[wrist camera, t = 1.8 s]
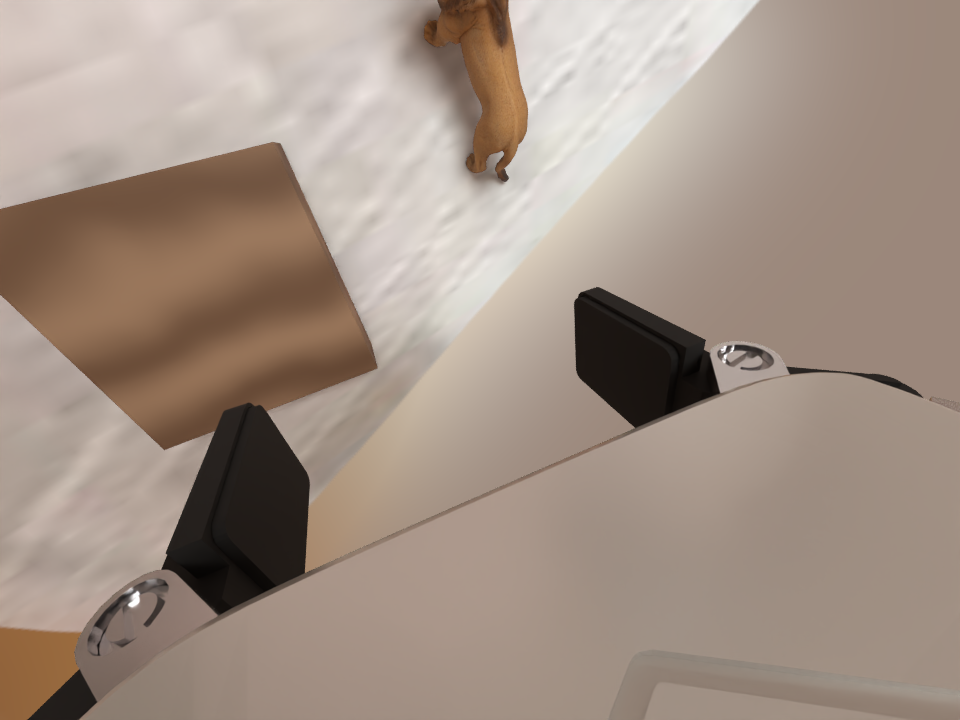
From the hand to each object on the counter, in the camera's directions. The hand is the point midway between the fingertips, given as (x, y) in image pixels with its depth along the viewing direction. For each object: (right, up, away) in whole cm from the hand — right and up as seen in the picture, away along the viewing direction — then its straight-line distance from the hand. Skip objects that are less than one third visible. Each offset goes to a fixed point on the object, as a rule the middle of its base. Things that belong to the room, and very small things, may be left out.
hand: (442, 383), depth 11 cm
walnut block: (-18, +6, +16) cm, 25 cm away
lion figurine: (-1, +21, +15) cm, 26 cm away
